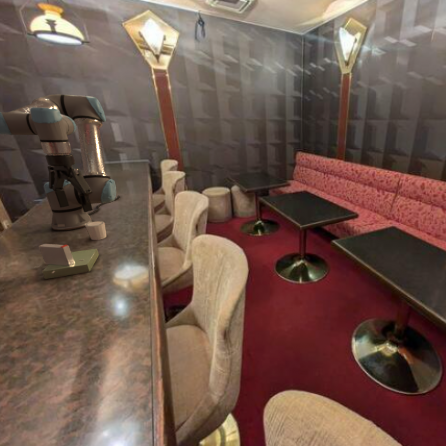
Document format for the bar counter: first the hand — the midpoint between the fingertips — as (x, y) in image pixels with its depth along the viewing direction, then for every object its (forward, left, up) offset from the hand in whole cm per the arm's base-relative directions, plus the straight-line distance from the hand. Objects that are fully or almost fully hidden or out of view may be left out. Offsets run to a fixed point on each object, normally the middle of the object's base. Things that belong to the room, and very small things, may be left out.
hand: (76, 208), depth 98 cm
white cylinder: (-10, +2, -17) cm, 20 cm away
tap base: (+18, -2, -17) cm, 25 cm away
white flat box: (+19, -3, -14) cm, 24 cm away
